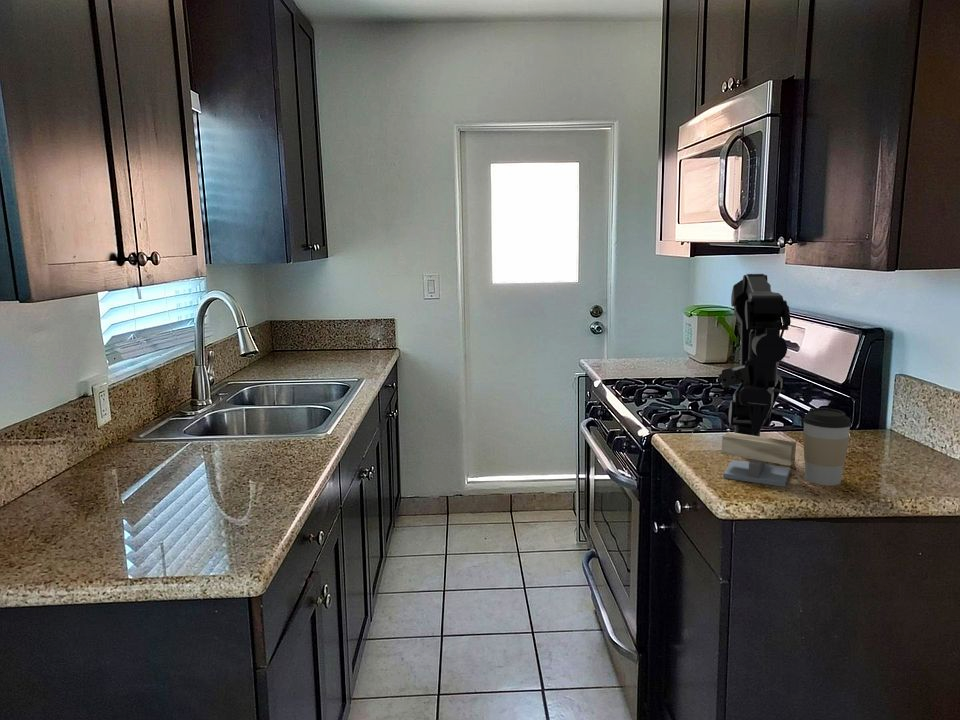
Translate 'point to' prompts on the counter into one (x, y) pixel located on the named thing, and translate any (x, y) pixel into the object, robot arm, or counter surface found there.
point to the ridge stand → (757, 472)
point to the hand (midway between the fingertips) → (759, 427)
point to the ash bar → (759, 448)
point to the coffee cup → (825, 445)
